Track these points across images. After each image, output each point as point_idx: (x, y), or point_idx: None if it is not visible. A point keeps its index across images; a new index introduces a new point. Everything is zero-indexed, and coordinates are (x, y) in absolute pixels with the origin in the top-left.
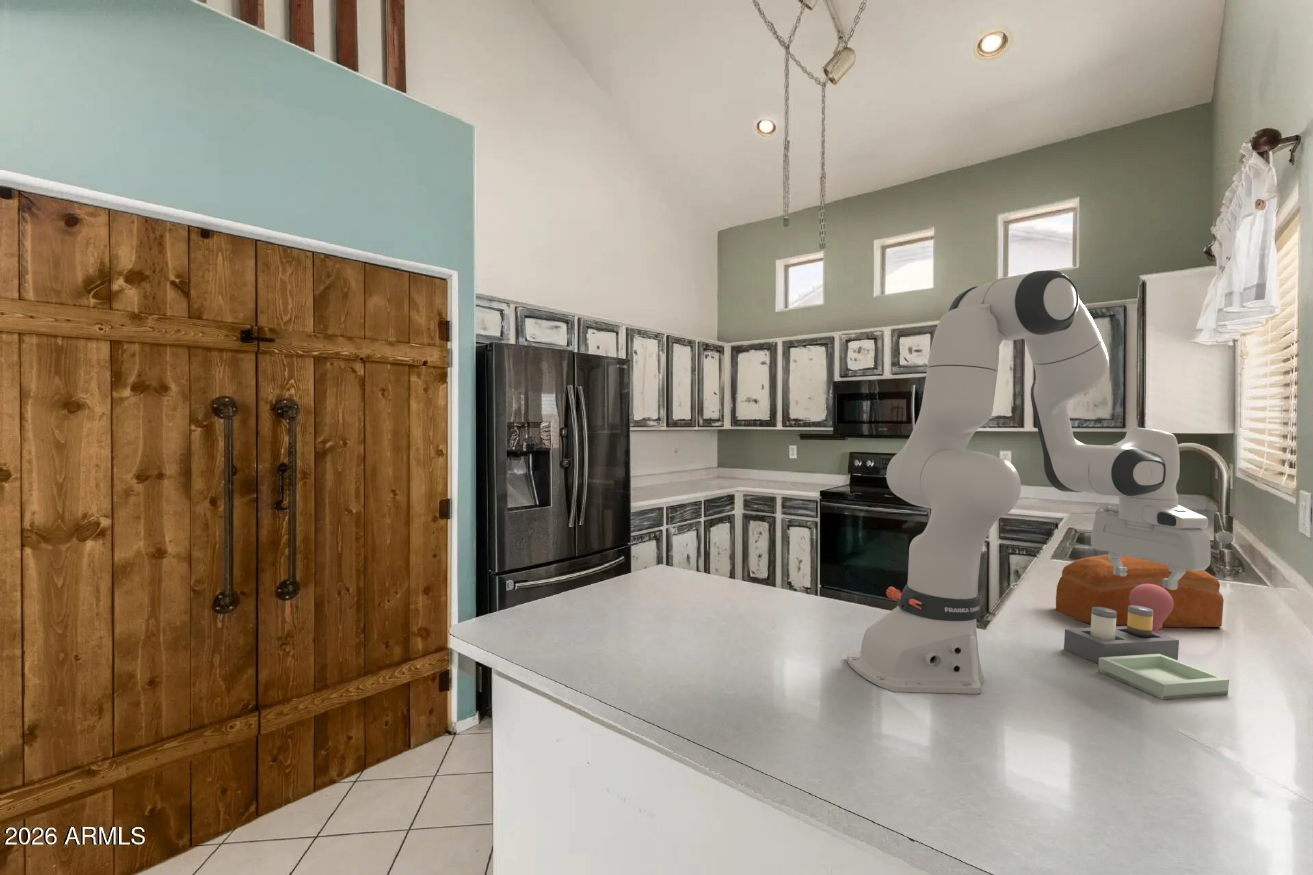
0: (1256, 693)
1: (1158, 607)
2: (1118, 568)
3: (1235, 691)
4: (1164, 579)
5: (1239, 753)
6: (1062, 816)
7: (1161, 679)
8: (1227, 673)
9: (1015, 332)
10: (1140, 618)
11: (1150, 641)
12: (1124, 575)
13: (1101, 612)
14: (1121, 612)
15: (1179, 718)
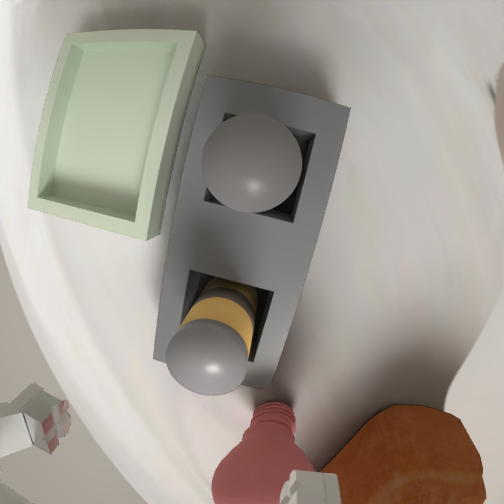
0: (40, 265)
1: (228, 461)
2: (309, 502)
3: (50, 237)
4: (35, 418)
5: (11, 6)
6: None
7: (107, 123)
8: (102, 339)
9: None
10: (192, 315)
11: (166, 263)
12: (285, 485)
13: (239, 115)
14: (347, 466)
15: (57, 10)
